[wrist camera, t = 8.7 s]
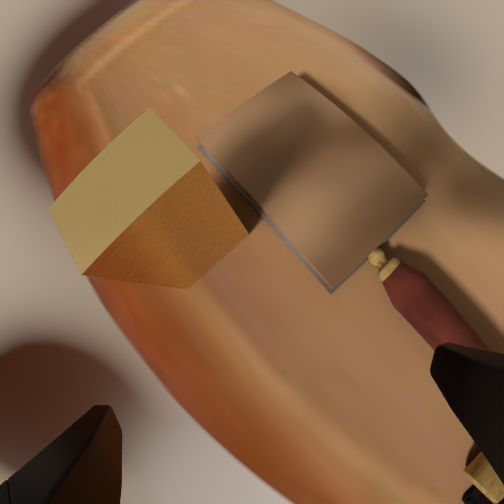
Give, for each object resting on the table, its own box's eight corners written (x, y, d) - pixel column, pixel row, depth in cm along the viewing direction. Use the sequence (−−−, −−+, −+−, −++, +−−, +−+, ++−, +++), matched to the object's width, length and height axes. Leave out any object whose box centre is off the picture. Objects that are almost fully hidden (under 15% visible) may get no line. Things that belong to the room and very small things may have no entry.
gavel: (308, 313, 14) (431, 178, 14) (308, 315, 18) (408, 208, 19) (502, 511, 8) (586, 396, 8) (477, 488, 12) (552, 391, 13)
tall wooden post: (249, 234, 18) (200, 160, 8) (186, 289, 18) (81, 274, 8) (214, 195, 19) (145, 103, 9) (155, 248, 19) (46, 202, 9)
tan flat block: (422, 202, 17) (432, 195, 16) (330, 293, 17) (333, 293, 16) (291, 81, 19) (291, 68, 18) (199, 149, 19) (192, 138, 18)
